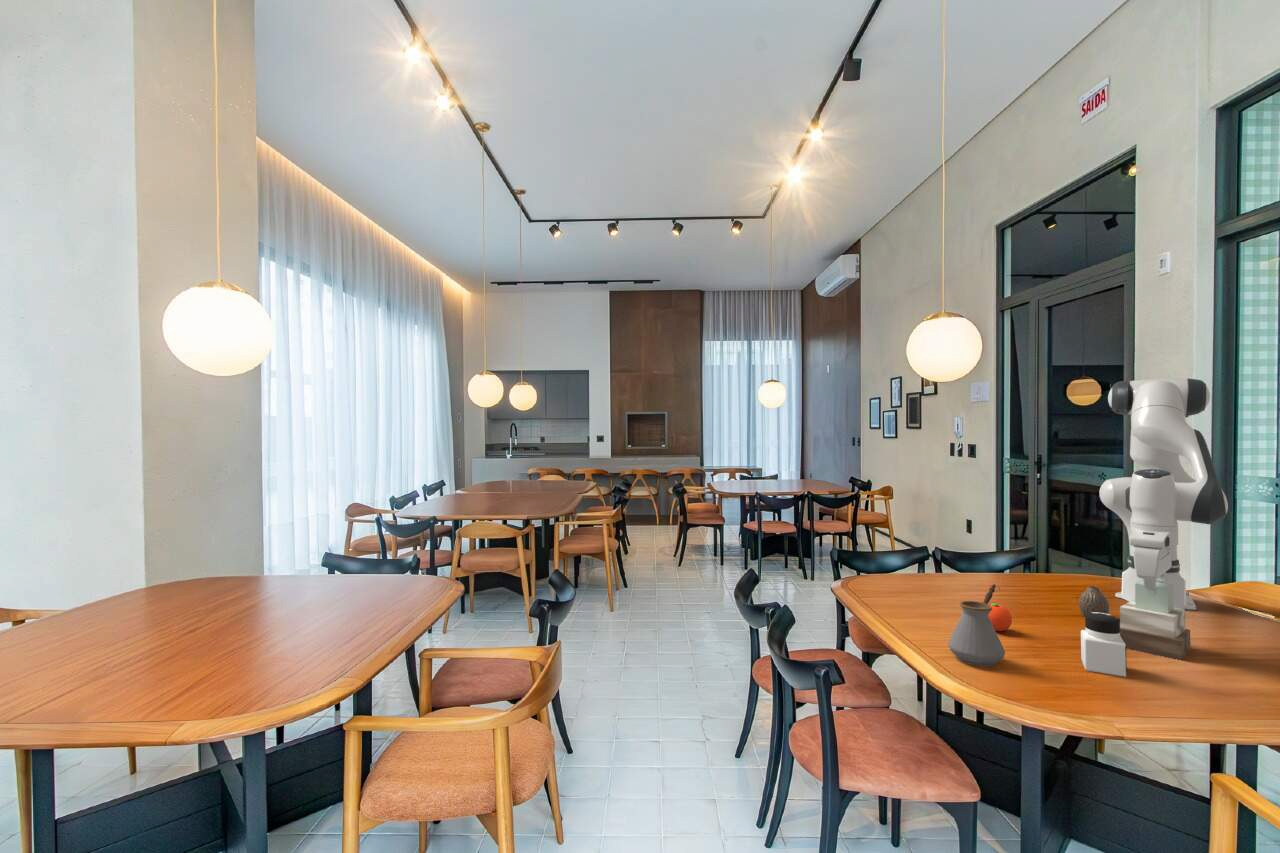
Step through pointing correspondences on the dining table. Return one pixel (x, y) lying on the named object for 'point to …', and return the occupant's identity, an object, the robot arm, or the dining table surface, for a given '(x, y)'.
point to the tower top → (1152, 620)
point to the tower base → (1157, 643)
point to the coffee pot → (977, 634)
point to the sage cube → (1155, 597)
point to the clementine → (1000, 617)
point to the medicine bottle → (1103, 645)
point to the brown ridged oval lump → (1093, 601)
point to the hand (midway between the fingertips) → (1155, 591)
